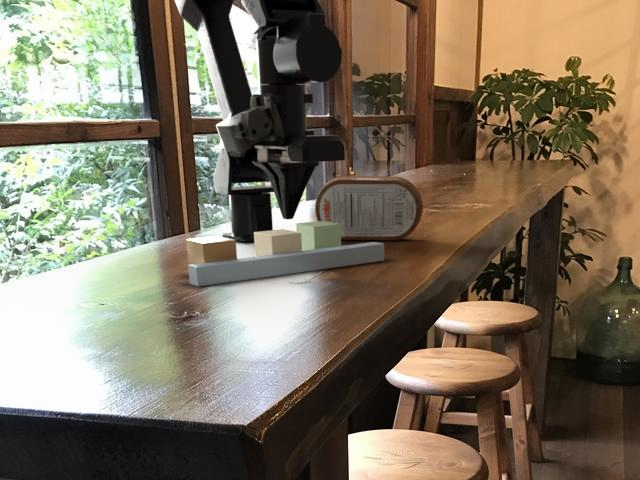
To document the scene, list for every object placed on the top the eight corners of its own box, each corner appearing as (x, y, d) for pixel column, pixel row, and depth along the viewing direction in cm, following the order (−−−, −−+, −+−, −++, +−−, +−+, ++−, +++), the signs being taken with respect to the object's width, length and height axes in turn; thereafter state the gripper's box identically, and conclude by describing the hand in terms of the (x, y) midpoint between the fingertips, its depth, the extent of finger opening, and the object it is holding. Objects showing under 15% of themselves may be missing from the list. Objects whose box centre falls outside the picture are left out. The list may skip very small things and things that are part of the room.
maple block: (189, 276, 90) (186, 239, 89) (221, 272, 92) (218, 235, 91) (206, 281, 87) (202, 243, 86) (238, 277, 90) (235, 239, 88)
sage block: (297, 256, 102) (296, 223, 100) (323, 253, 104) (322, 220, 102) (315, 260, 99) (313, 226, 97) (341, 257, 101) (340, 223, 99)
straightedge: (189, 283, 86) (187, 264, 85) (374, 258, 100) (374, 241, 99) (198, 286, 85) (196, 267, 84) (384, 260, 98) (384, 243, 98)
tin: (422, 238, 115) (423, 175, 111) (421, 241, 112) (422, 177, 108) (317, 237, 116) (315, 175, 113) (314, 241, 113) (312, 177, 110)
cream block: (255, 267, 95) (253, 232, 93) (284, 263, 97) (283, 229, 95) (273, 272, 92) (271, 235, 90) (302, 268, 94) (301, 232, 93)
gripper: (187, 86, 101) (199, 217, 107) (263, 82, 87) (272, 232, 94) (264, 87, 107) (271, 210, 113) (347, 83, 93) (349, 224, 100)
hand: (288, 218), depth 105 cm, fingers closed
